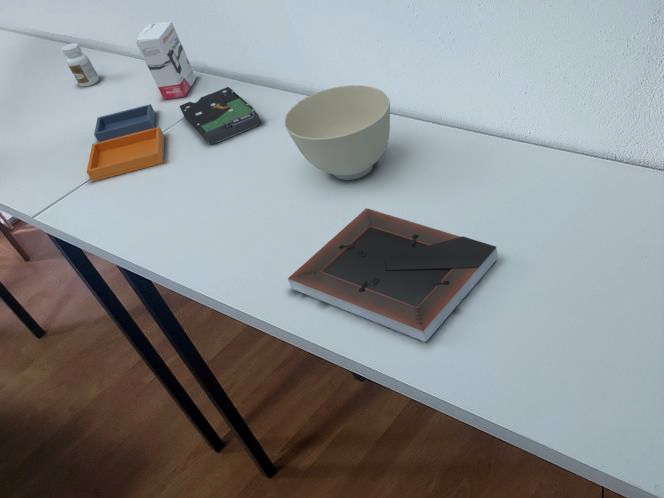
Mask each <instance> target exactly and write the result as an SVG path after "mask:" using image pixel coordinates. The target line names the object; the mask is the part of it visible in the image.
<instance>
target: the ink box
mask: <svg viewBox="0 0 664 498" xmlns="http://www.w3.org/2000/svg"><path fill="white" fill-rule="evenodd" d="M135 44H136V46H137V48H138V50H139V52H140V54H141V56H142V58H143V60H144V61H145V64H146V66H147V68H148V70H149V72H150V74H151V76H152V78H153V80H154V82H155V84H156V86H157V88H158V90H159V93H160V94H161V96H162V98H163V100H170V99H177V98H184V97H187V95H188V93H189V91H190V90H191V87H192V86H193V85H194V83H195V81H196V79H197V77H196V75H195V73H194V69H193V67H192V65H191V63H190V60H189V58H188V56H187V53H186V51H185V49H184V46H183V44H182V42H181V40H180V38H179V35H178V33H177V31H176V28H175V26H174V24H173V22H172V21H165V22H151V23H148V24H147V25H146V26H145V27H144V28H143V30H141V32H140V33H139V35H138V36H137V38H136V40H135Z"/></svg>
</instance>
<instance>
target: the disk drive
mask: <svg viewBox="0 0 664 498" xmlns="http://www.w3.org/2000/svg"><path fill="white" fill-rule="evenodd" d="M179 109H180V111H181V113H182V114H183V118H185V120H186V121H187V122H188V123H189V124H190V125H191V126H192V127H193V128H194V129H195V130H196V132H197V133H198V134H199V135H200V136H201V137H202V138H203V139H204V140H205V141H206V142H207V143H208V144H209V145H212V144H216V143H219V142H221V141H224V140H225V139H229V138H231V137H234V136H235V135H238V134H240V133H243V132H245V131H247V130H250V129H253V128H255V127H257V126H259V125H260V124H262V121H261V119H260V116H259V113H257V111H256V110H255V108H254V107H253V106H251V105H250V104H249V103H248V102H247V101H246V100H245V99H243V97H241V96H240V95H239V94H238V93H237V92H235V91H234V89H232V88H231V87H229V86H227V87H224V88H222V89H219V90H218V91H214V92H212V93H208V94H206V95H204V96H201V97H200V98H199V99H198V100H197V101H196V102H193V101H188V102H185V103H183V104H180V105H179Z"/></svg>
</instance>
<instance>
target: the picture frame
mask: <svg viewBox="0 0 664 498" xmlns="http://www.w3.org/2000/svg"><path fill="white" fill-rule="evenodd" d="M498 259H499V258H498V250H497V246H496V245H492V244H489V243H486V242H482V241H479V240H477V239H473V238H470V237H467V236H460V235H456V234H454V233H450V232H448V231H447V232H446V231H443V230H440V229H437V228H434V227H429V226H427V225H423V224H420V223H417V222H414V221H410V220H407V219H404V218H400V217H397V216H393V215H390V214H387V213H384V212H382V211H381V212H380V211H377V210H373V209H370V208H367V207H366V208H365V209H364V210H362V211H361V212H360V213H359V214H358V215H357V216H356V217H354V218H353V219H352V221H350V222H349V223H348V224H347V225H346V226H344V228H342V229H341V230H340V231H339V232H338V233H337V234H336V235H335V236H333V237H332V238H331V239H330V240H329V241H328V242H327V243H325V244H324V245H323V246H322V247H321V248H320V249H319V250H318V251H317V252H316V253H314V254H313V255H312V256H311V257H309V259H308V260H307V261H305V263H304V264H302V265H301V266H300V267H299V268H298V269H296V270H295V271H294V272H293V273H292V274H290V276H289V277H287V281H288V283H289V285H290V287H291V289H292V290H294V291H295V292H298V293H301V294H303V295H306V296H309V297H311V298H314V299H316V300H318V301H321V302H324V303H326V304H329V305H331V306H334V307H336V308H339V309H341V310H344V311H346V312H349V313H351V314H354V315H356V316H359V317H362V318H364V319H366V320H369V321H371V322H374V323H376V324H380V325H381V326H384V327H387V328H389V329H392V330H394V331H396V332H399V333H402V334H404V335H406V336H408V337H409V336H410V337H412V338H414V339H417V340H420V341H421V342H424V343H427V341H428V340H429V339H430V338H431V337H432V335H433V334H434V333H435V332H436V331H437V330H438V328H440V326H441V325H442V324H443V323H444V321H445V320H446V319H447V318H448V317H449V316H450V315H451V314H452V312H454V310H455V309H456V308H457V307H458V306H459V304H460V303H462V301H463V300H464V298H465V297H466V296H467V295H468V294H469V292H470V291H471V290H472V289H473V288H474V287H475V285H477V283H478V282H479V281H480V280H481V279H482V277H484V275H485V273H487V272H488V270H489V269H490V268H491V267H492V266H493V265H494V263H496V261H497V260H498Z"/></svg>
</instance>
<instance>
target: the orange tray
mask: <svg viewBox="0 0 664 498" xmlns="http://www.w3.org/2000/svg"><path fill="white" fill-rule="evenodd" d="M88 157H89V158H88V162H87V168H86V174H87V175H88V177H89V178H90V180H91V181H92V182H97V181H100V180H105V179H108V178H112V177H116V176H120V175H123V174H124V175H125V174H127V173H131V172H134V171H139V170H142V169H146V168H151V167H154V166H157V165H158V166H159V165H161V164H164V161H165V159H164V158H165V135H164V132H163V130H162V129H161V126H158V127H154V128H153V129H149V130H145V131H141V132H137V133H133V134H129V135H125V136H121V137H118V138H114V139H110V140H106V141H102V142H98V141H97V142H95V143H92V144H91V148H90V151H89V156H88Z"/></svg>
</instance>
